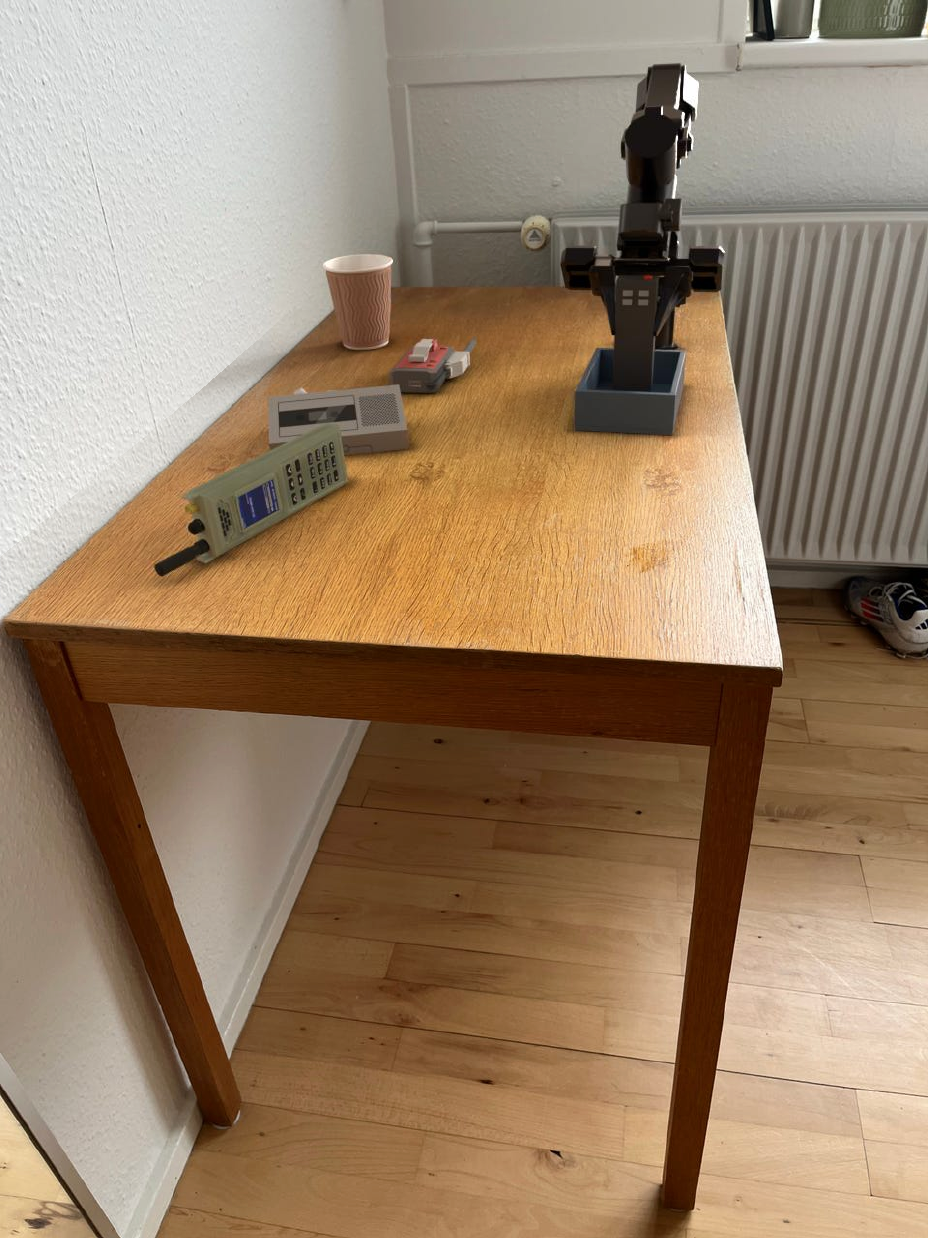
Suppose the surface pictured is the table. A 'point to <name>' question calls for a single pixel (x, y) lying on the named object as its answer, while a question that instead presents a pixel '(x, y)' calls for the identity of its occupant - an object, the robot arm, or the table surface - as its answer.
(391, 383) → the walkie-talkie
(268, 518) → the handheld radio
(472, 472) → the table surface
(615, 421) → the tote
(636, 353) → the block
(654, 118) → the robot arm
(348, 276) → the coffee cup
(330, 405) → the cassette player
